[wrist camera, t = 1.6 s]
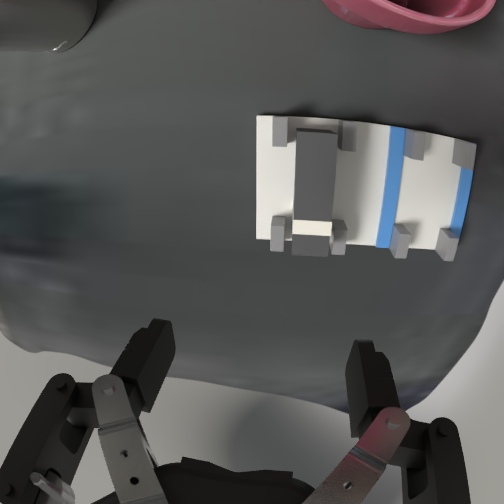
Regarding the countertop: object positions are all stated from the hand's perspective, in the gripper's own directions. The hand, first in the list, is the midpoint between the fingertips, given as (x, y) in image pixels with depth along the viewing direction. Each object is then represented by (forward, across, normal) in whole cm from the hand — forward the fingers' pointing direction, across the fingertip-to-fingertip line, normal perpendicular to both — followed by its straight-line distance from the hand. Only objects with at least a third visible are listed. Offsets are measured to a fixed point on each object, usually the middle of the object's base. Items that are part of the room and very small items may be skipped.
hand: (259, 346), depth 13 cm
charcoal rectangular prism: (+18, -3, -3) cm, 19 cm away
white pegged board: (+19, -9, -3) cm, 21 cm away
